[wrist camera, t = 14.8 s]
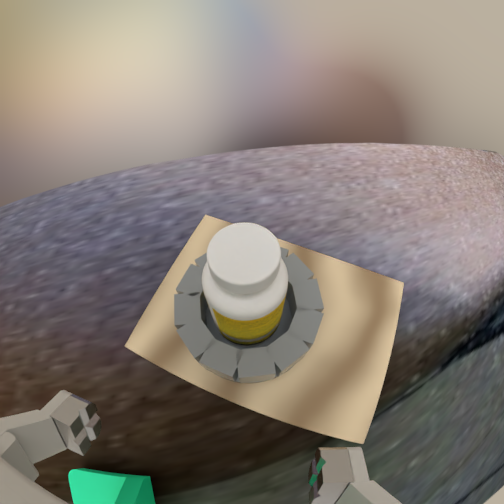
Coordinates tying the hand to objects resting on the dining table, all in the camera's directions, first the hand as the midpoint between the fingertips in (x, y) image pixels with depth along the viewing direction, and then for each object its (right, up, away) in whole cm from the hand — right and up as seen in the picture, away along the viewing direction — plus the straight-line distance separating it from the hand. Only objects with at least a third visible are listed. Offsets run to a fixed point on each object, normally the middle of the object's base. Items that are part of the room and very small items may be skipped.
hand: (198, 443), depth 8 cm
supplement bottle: (+2, +1, +16) cm, 16 cm away
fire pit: (+2, +1, +16) cm, 16 cm away
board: (+4, 0, +17) cm, 18 cm away
